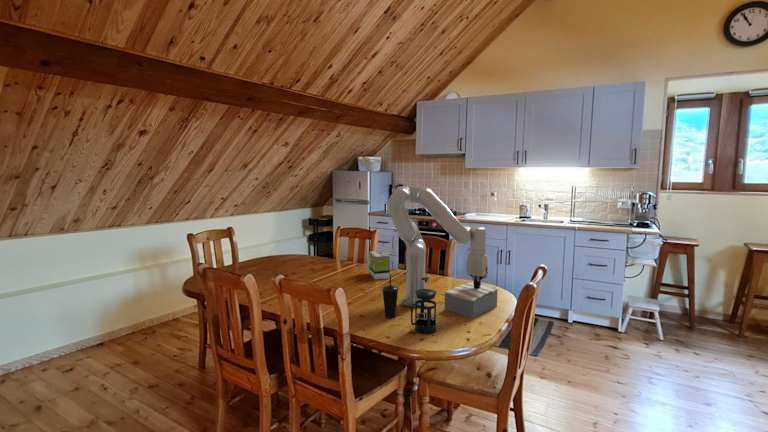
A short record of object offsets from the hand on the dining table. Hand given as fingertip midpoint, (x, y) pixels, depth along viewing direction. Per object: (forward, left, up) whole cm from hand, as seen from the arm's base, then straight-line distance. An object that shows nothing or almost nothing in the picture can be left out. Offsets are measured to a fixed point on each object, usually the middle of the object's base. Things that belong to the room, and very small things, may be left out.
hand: (477, 288), depth 205 cm
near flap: (-10, 0, -1) cm, 10 cm away
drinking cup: (-40, +21, -10) cm, 47 cm away
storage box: (-4, 0, -9) cm, 10 cm away
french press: (-41, 0, -10) cm, 42 cm away
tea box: (+5, +73, -10) cm, 74 cm away
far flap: (+1, 0, -1) cm, 2 cm away
